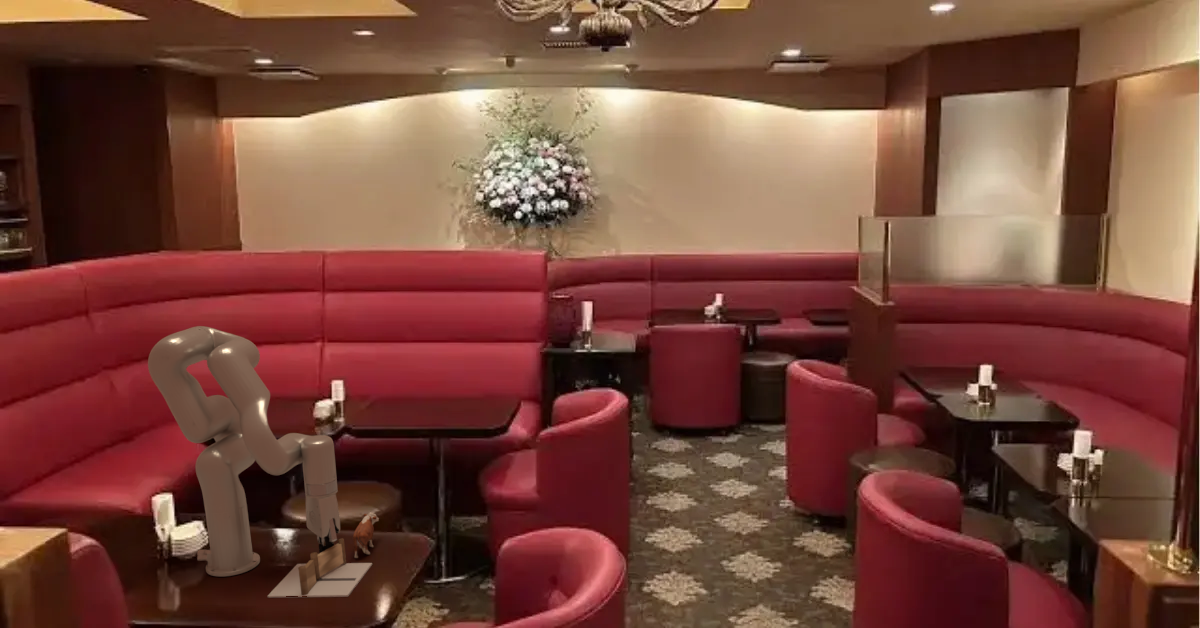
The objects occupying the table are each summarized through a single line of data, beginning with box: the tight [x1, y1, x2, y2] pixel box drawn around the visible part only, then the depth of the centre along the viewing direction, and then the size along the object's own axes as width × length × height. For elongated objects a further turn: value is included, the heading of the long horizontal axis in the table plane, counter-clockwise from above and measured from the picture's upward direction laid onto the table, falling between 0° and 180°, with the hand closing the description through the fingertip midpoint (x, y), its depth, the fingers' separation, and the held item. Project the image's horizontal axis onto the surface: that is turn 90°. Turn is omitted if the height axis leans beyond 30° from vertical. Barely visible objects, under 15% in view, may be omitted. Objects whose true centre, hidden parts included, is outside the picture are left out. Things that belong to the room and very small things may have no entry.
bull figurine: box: [352, 511, 380, 559], centre depth 240 cm, size 4×13×8 cm, turn 174°
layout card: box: [267, 562, 373, 598], centre depth 224 cm, size 19×17×1 cm
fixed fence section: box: [298, 559, 316, 595], centre depth 219 cm, size 2×6×6 cm, turn 175°
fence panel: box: [310, 537, 347, 580], centre depth 227 cm, size 11×2×6 cm, turn 153°
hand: (327, 558), depth 231 cm, fingers closed
